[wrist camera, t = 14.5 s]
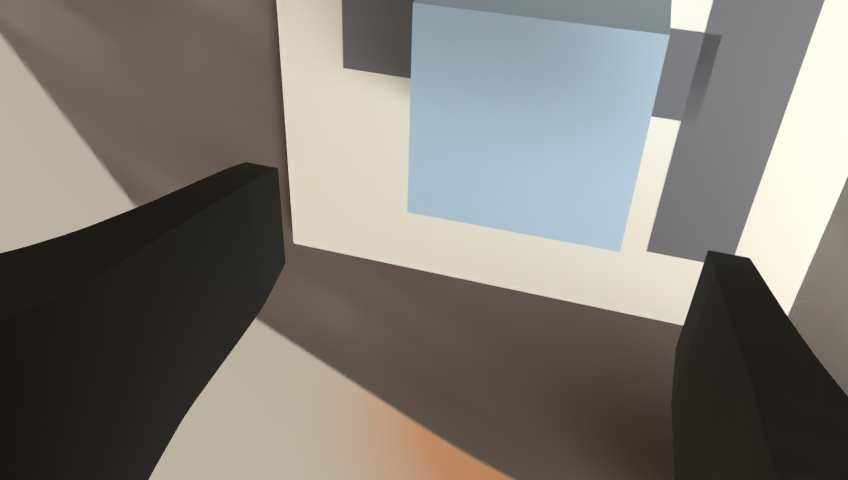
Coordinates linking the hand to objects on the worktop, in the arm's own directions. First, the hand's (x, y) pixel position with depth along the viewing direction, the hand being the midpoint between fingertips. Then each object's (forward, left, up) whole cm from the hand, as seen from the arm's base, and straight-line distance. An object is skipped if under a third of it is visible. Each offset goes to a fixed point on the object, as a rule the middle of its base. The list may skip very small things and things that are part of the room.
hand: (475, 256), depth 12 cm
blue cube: (0, 0, -9) cm, 9 cm away
